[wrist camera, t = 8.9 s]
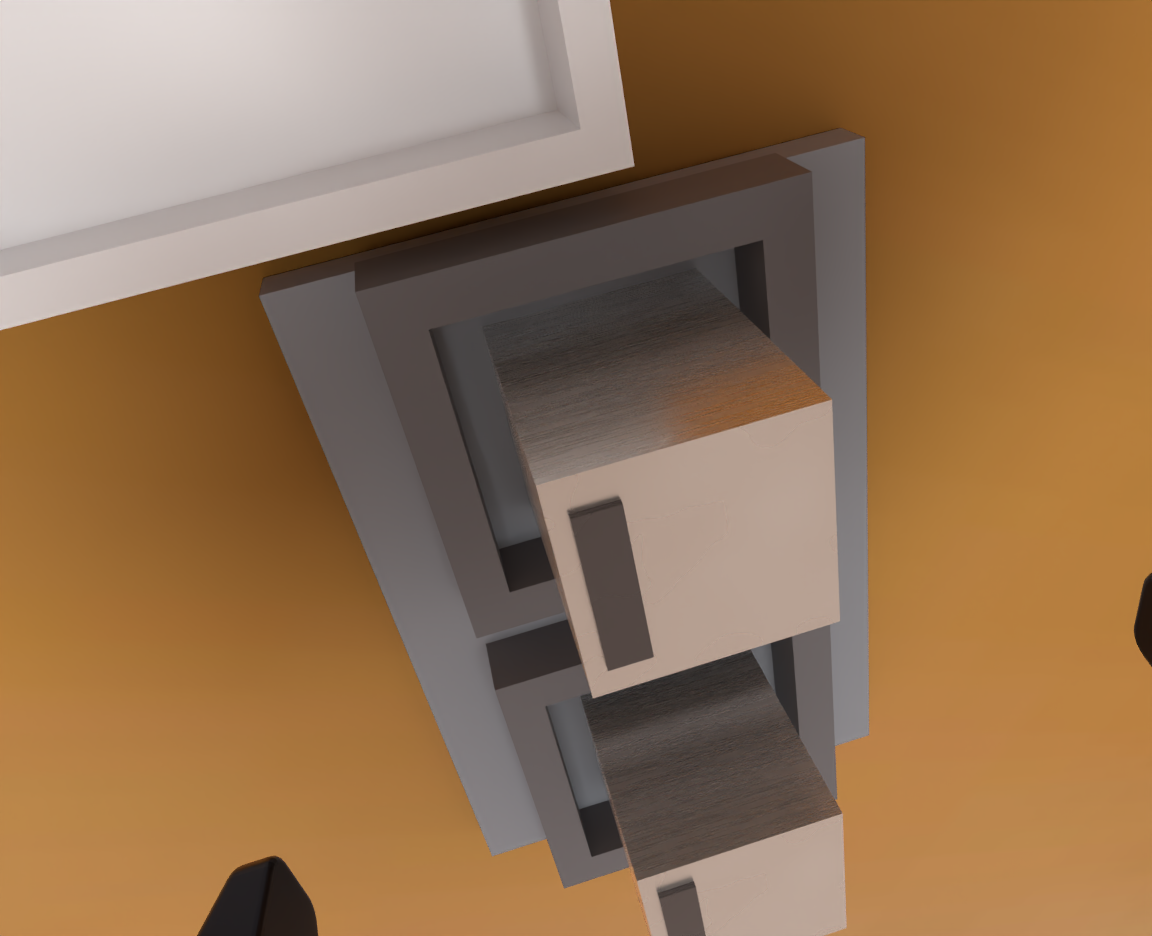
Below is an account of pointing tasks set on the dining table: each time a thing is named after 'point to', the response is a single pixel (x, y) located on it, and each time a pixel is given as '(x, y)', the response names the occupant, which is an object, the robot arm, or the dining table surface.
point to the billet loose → (671, 476)
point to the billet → (719, 805)
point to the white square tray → (277, 129)
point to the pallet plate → (493, 474)
